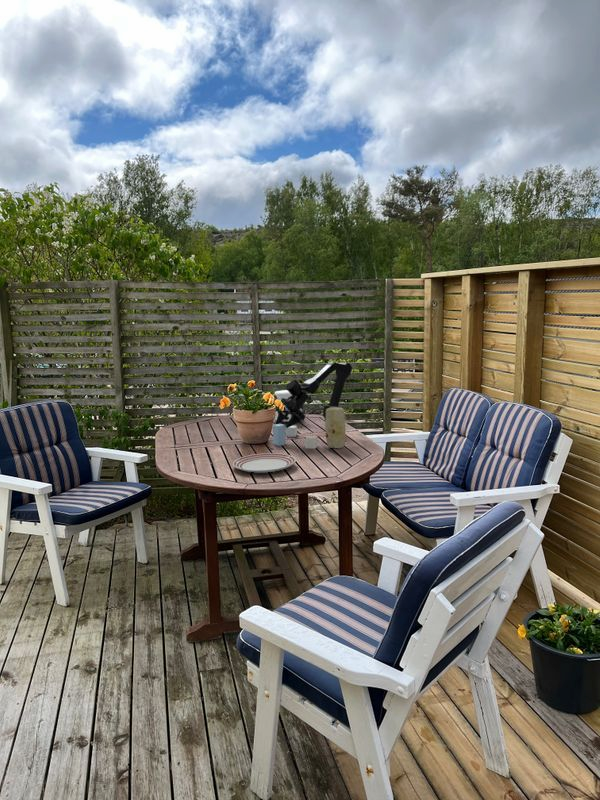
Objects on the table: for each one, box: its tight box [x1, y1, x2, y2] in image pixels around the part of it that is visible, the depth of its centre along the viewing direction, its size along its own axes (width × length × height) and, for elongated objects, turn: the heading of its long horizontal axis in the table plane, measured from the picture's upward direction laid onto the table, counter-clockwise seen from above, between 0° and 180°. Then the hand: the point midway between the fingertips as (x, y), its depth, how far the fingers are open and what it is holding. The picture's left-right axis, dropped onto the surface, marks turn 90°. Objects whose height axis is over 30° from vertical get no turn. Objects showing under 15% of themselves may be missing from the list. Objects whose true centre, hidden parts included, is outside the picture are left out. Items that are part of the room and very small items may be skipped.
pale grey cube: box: [285, 425, 298, 438], centre depth 315 cm, size 5×5×5 cm
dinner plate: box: [232, 452, 297, 474], centre depth 255 cm, size 28×27×3 cm
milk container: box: [273, 389, 303, 424], centre depth 351 cm, size 17×17×18 cm
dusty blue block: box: [272, 423, 287, 447], centre depth 295 cm, size 4×4×10 cm
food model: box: [324, 407, 346, 449], centre depth 285 cm, size 10×7×20 cm
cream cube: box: [305, 435, 318, 449], centre depth 288 cm, size 5×5×5 cm
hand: (281, 426), depth 295 cm, fingers open, 9 cm apart
